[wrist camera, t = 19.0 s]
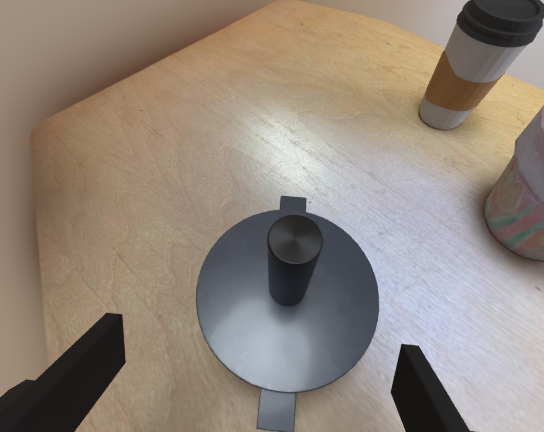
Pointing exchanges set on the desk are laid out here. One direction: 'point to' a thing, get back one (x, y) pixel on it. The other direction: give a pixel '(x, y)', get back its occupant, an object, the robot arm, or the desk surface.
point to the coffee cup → (478, 56)
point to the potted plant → (521, 196)
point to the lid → (287, 301)
